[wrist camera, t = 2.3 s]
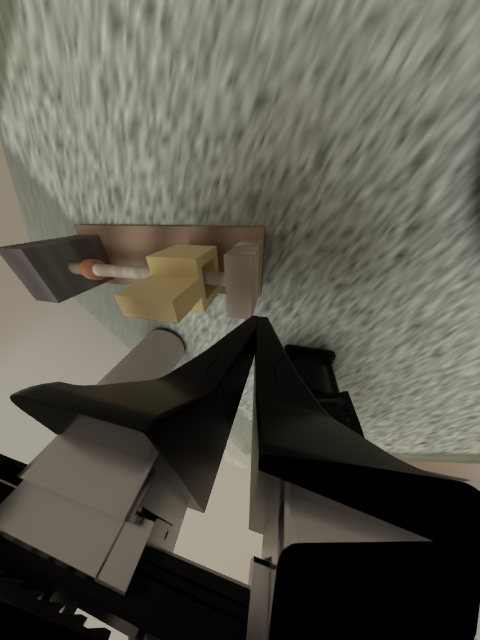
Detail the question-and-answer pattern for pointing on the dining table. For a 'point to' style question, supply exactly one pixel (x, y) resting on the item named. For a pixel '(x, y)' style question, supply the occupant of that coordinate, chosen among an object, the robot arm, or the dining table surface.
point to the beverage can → (148, 359)
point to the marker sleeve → (172, 285)
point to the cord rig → (138, 260)
